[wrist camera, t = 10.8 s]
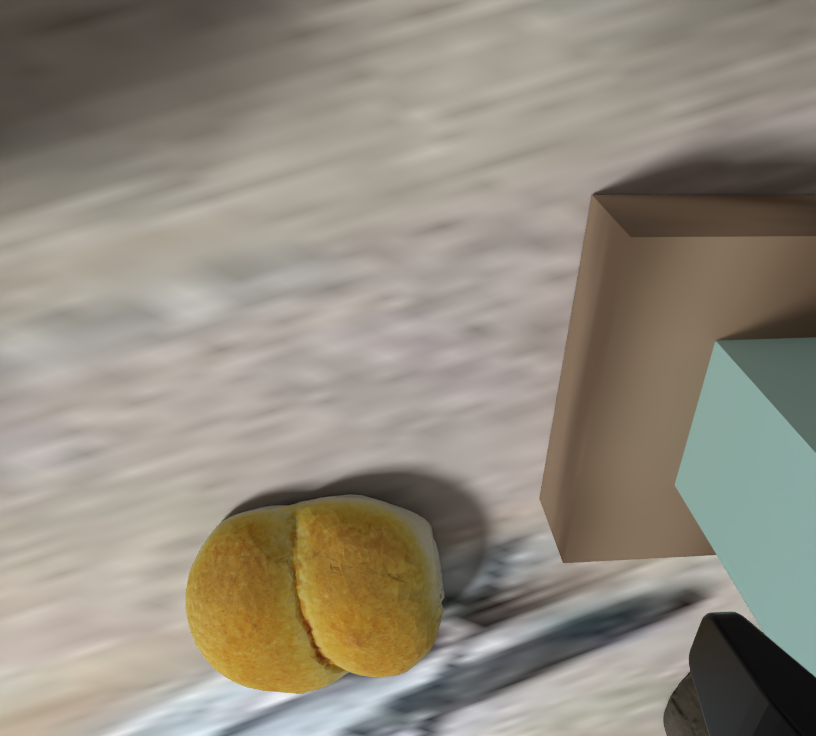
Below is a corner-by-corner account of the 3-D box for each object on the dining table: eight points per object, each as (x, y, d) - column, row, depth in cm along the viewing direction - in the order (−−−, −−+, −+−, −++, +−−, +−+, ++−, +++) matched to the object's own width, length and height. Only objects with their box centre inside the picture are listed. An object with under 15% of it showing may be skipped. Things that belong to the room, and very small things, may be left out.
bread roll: (159, 513, 25) (135, 609, 22) (420, 462, 25) (436, 550, 22) (231, 663, 30) (220, 761, 26) (453, 619, 30) (470, 712, 26)
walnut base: (539, 498, 26) (563, 562, 24) (591, 194, 20) (630, 237, 18) (832, 485, 27) (884, 546, 25) (962, 194, 21) (1047, 234, 19)
